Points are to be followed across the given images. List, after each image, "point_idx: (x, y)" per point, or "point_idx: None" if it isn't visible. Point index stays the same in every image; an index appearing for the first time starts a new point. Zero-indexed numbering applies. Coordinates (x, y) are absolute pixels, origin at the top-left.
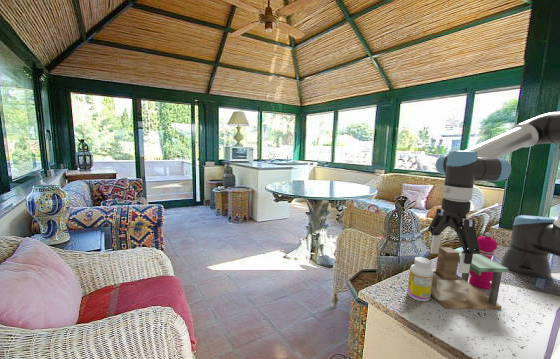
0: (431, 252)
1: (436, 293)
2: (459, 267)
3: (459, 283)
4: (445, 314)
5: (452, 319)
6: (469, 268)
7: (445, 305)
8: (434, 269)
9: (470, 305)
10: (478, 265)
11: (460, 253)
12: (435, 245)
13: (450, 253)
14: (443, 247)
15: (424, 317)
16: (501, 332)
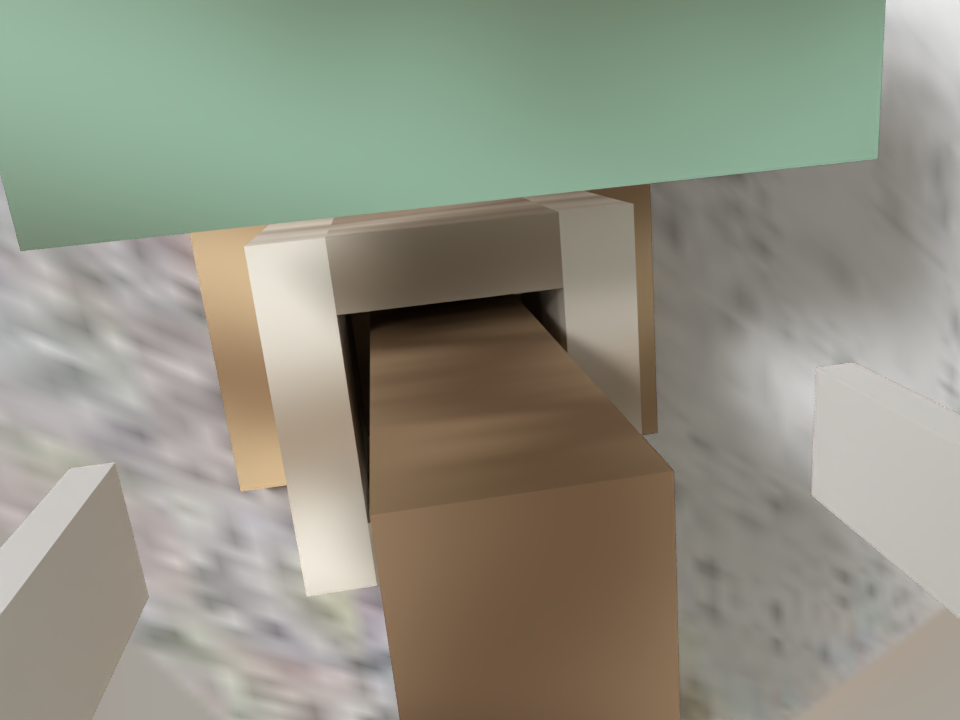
0: (133, 606)
1: None
2: (867, 531)
3: (636, 327)
4: (724, 461)
5: (780, 439)
6: (903, 387)
7: (653, 431)
8: (304, 469)
9: (649, 196)
10: (779, 110)
11: (182, 97)
12: (75, 653)
13: (666, 641)
14: (400, 682)
15: (760, 627)
16: (924, 139)
